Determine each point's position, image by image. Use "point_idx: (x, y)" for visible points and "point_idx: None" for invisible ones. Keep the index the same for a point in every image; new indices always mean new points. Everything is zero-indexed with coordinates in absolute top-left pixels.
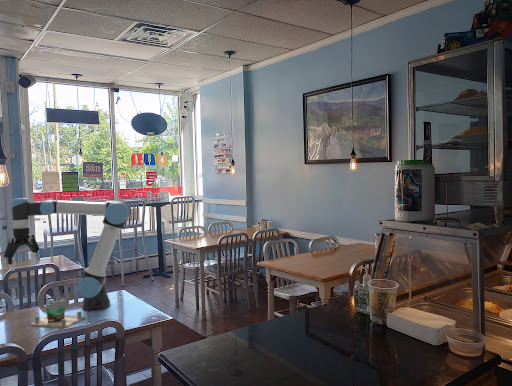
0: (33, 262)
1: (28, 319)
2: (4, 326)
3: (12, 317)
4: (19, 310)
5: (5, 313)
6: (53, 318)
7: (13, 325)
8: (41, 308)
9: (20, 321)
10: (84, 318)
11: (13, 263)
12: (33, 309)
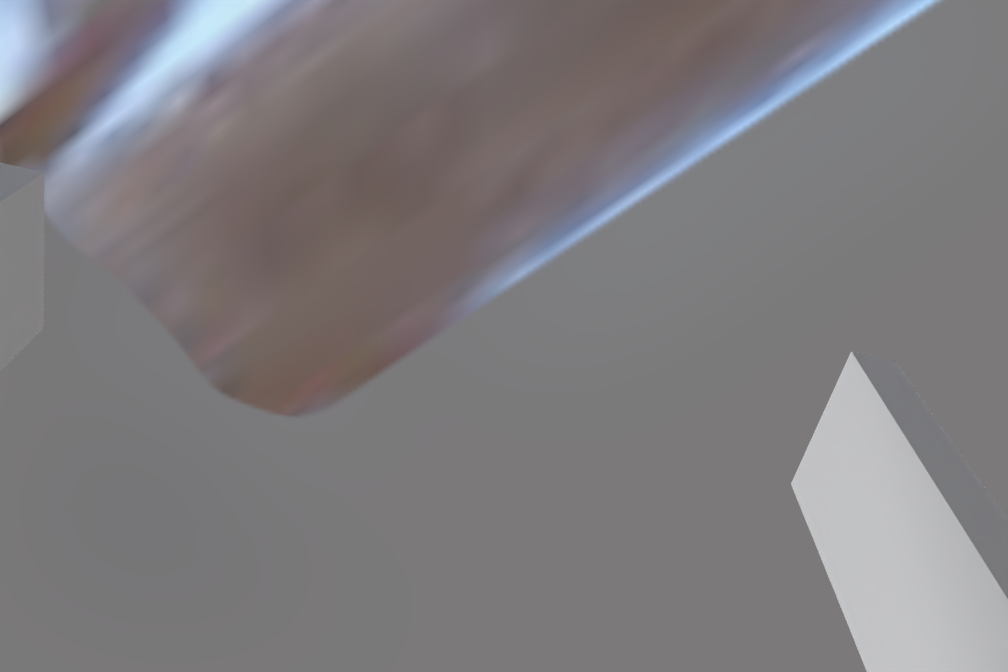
0: (10, 278)
1: (462, 30)
2: (680, 172)
3: (408, 268)
4: (194, 334)
5: (300, 416)
6: None
7: (655, 87)
8: (83, 117)
9: (529, 89)
10: None
11: (973, 496)
12: (135, 196)
